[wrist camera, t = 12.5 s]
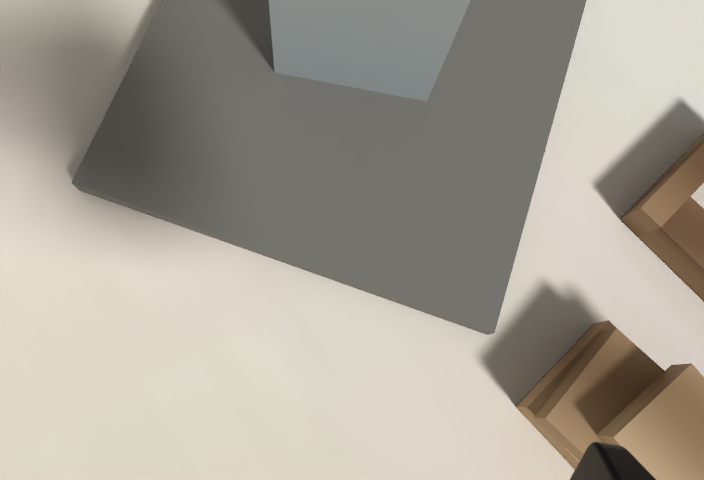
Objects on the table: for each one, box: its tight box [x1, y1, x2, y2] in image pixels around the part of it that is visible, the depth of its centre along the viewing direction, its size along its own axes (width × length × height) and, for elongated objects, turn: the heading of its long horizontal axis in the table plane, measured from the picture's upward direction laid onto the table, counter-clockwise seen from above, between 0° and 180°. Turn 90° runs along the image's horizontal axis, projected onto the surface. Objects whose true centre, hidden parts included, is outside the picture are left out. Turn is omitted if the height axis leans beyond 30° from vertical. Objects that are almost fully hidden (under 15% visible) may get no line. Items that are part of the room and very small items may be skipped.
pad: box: [72, 0, 586, 335], centre depth 24 cm, size 16×16×1 cm
